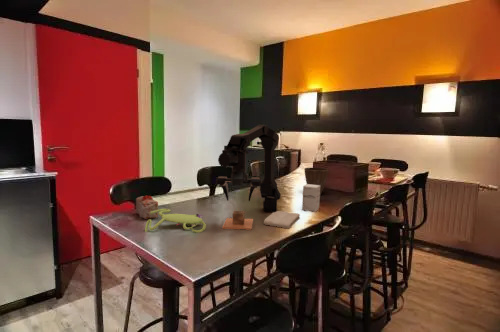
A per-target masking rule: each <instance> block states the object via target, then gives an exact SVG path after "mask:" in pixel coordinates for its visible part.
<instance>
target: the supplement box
mask: <svg viewBox="0 0 500 332" xmlns="http://www.w3.org/2000/svg"><path fill="white" fill-rule="evenodd" d="M320 199H321V194H320V185H312V184H307V183H306V184H304V185H303V187H302V205H301V208H302V209H301V210H303V211H311V212H314V213H315V212H317V211H318V210H319V209H320Z"/></svg>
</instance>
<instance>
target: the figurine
mask: <svg viewBox="0 0 500 332" xmlns="http://www.w3.org/2000/svg"><path fill="white" fill-rule="evenodd" d="M158 209H159V208H158ZM171 211H172V210H171V209H169V208H160V209H159V210H155V211H152V212H150V214H153V213H157V212H158V216H160V217H161V219H160V220H159V221H158V222H156V223H155V224H154V225H153V226H152V222H153V221H152V219H147V221H146V223H145V228H144V232H145V233H146V232H148V229H149V231H154V230H155V229H156V228H158V227H159V226H160V225H161V224H163V222H165V221H167V222H170V223H176V224H175V225H176V226H179V225H180V224H182V227H183V229H184V230H191V231H192V233H197V234H198V233H203V232H204V231H205V230H206V229H207V224H206V222H204V220H203V214H199V213H196V214H187V213H185V214H184V213H171ZM199 224H200V225H202V228H201V229H198V230H197V229H194V227H196V226H197V225H199ZM187 226H188V227H187ZM190 226H191V227H190Z"/></svg>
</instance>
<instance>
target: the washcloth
mask: <svg viewBox="0 0 500 332" xmlns="http://www.w3.org/2000/svg"><path fill="white" fill-rule="evenodd" d="M300 216H301V214H300V213H298V212H297V213H296V212H289V211H284V210H277V211H276V212H272V213H271V214H270V215H268V216H267V217H266V218H265V219H264V221H263V225H264V226H268V225H270V226H269V227H276V226H277V227H278V228H281V227H282V228H283V229H287V228H289V229H290V228H291V227H292V226H293V225H295V223H296V222H297V221H298V220H300ZM277 227H276V228H277ZM282 228H281V229H282Z"/></svg>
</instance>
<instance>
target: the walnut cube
mask: <svg viewBox="0 0 500 332" xmlns="http://www.w3.org/2000/svg"><path fill="white" fill-rule="evenodd" d="M232 218H233V224H236V225H244V219H245V211H244V210H234V211H233V212H232Z"/></svg>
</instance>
